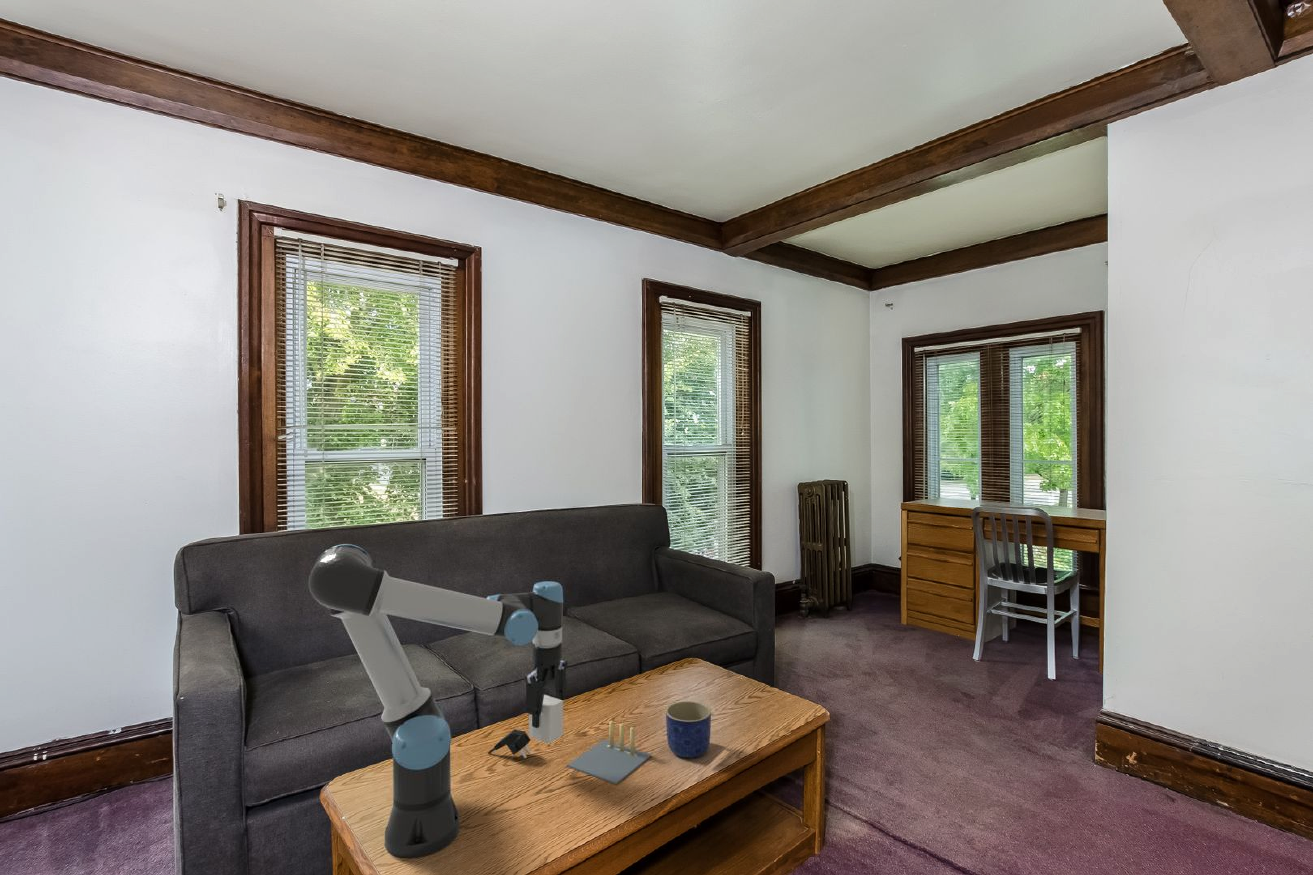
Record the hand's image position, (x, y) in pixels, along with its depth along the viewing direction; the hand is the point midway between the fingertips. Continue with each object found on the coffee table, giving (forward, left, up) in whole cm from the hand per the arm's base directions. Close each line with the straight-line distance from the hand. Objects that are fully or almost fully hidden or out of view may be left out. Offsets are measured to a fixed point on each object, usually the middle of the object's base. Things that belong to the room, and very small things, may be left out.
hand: (545, 734), depth 157 cm
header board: (+14, -10, -10) cm, 20 cm away
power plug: (0, +18, -12) cm, 22 cm away
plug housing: (0, 0, 0) cm, 0 cm away
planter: (+30, -25, -10) cm, 40 cm away
